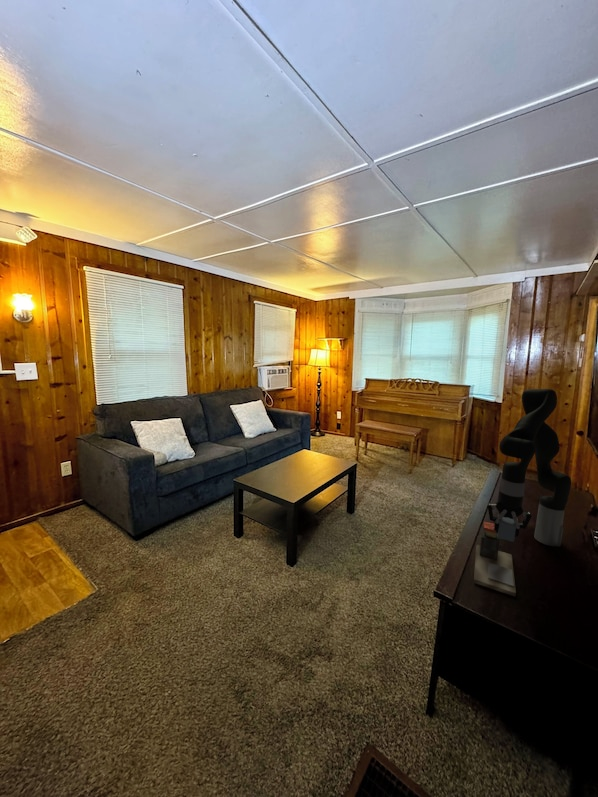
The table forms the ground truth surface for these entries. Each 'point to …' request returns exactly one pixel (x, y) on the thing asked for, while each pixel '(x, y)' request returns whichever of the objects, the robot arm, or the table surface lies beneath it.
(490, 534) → the block
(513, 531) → the block
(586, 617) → the table surface
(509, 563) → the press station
